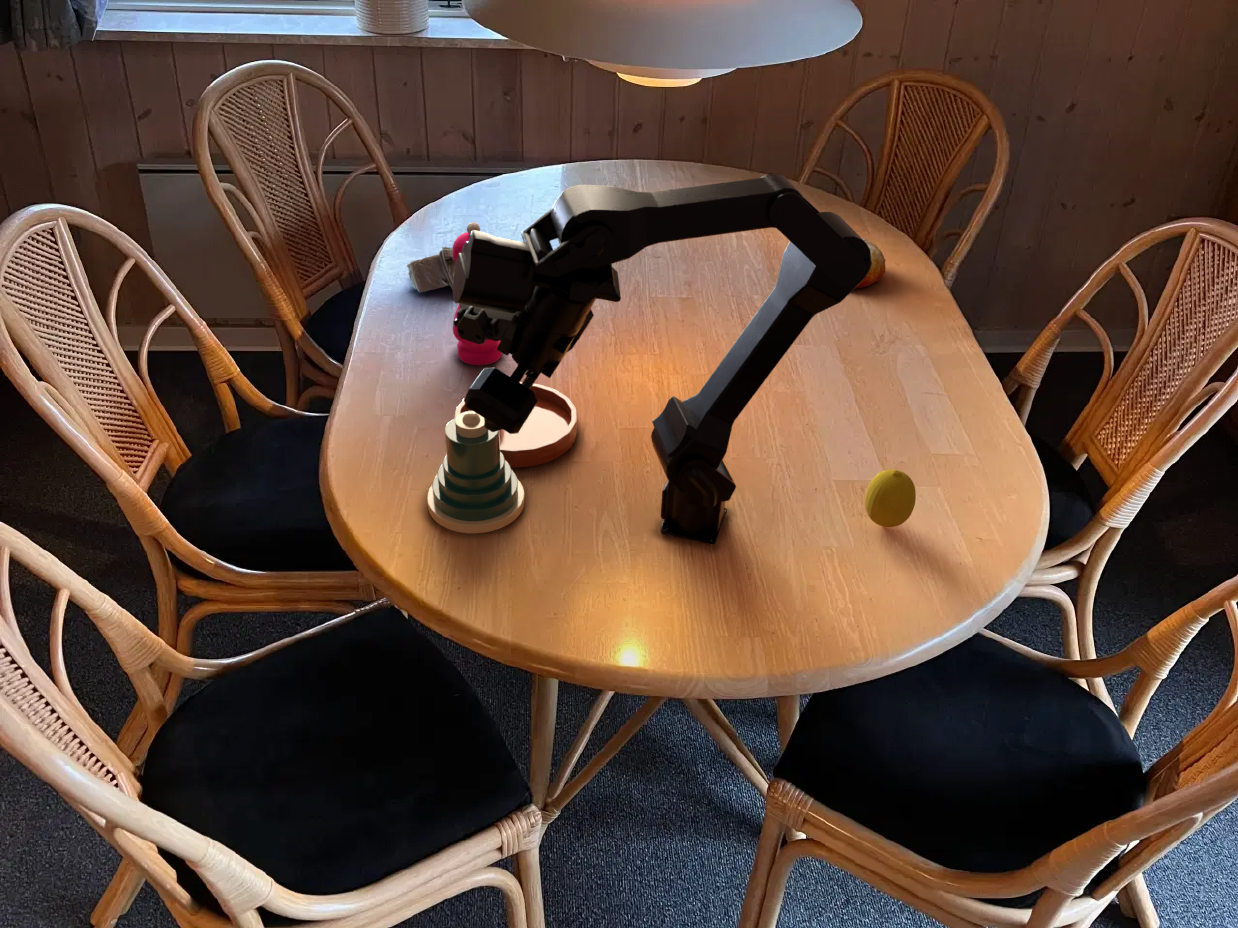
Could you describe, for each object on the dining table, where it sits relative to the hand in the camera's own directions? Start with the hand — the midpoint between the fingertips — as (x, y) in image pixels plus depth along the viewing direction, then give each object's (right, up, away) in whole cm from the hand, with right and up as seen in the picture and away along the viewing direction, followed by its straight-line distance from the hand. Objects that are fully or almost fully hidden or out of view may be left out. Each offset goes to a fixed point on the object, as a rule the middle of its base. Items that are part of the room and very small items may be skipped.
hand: (508, 400), depth 114 cm
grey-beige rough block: (-17, +36, +60) cm, 72 cm away
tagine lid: (-5, -11, +9) cm, 15 cm away
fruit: (+50, +24, +59) cm, 81 cm away
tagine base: (-1, -3, +21) cm, 21 cm away
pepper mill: (-8, +9, +36) cm, 38 cm away
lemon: (+43, -14, +8) cm, 46 cm away
